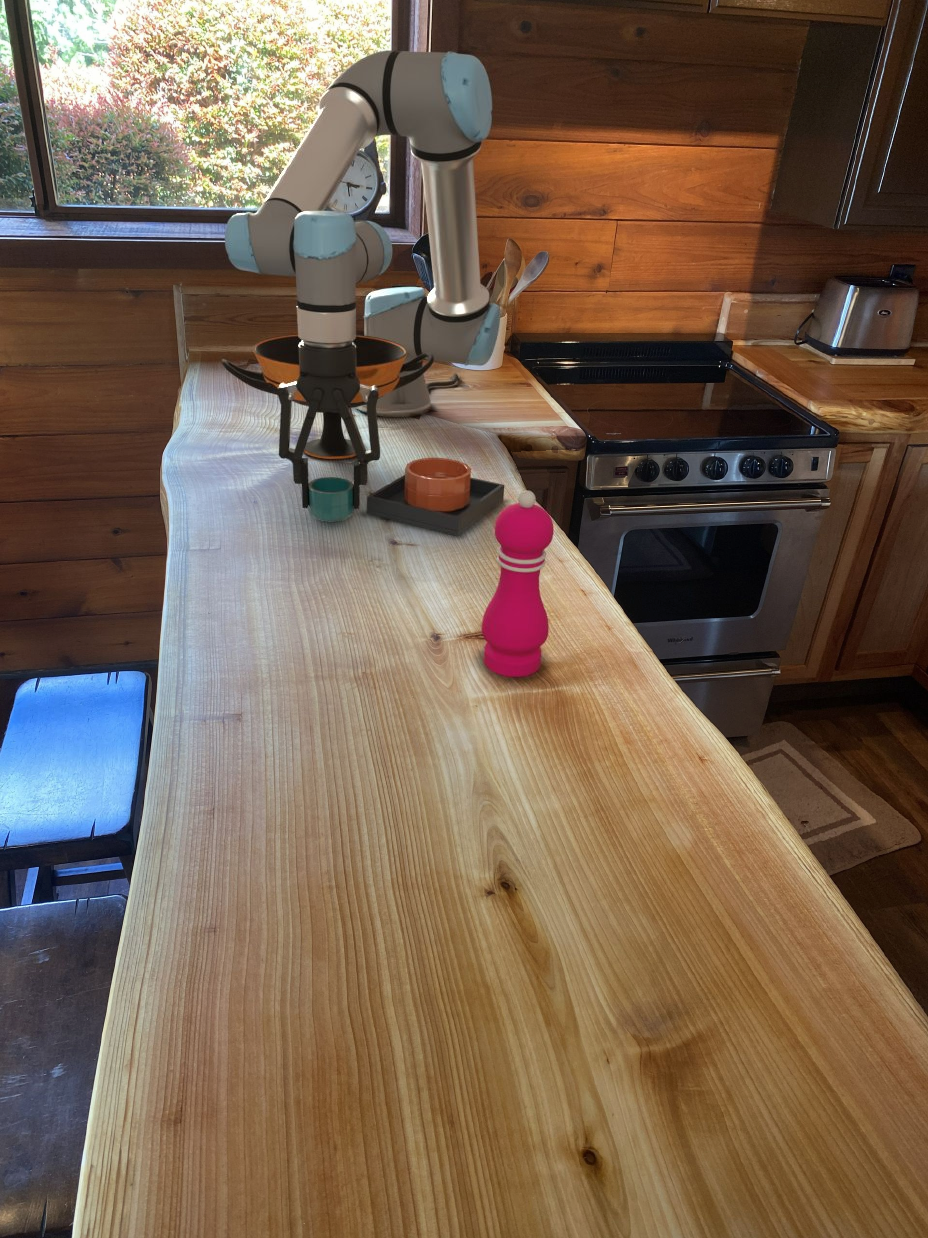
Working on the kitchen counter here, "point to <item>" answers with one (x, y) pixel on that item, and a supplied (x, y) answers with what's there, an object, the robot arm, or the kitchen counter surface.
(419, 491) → the bowl large
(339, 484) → the bowl small
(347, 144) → the robot arm
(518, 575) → the pepper mill
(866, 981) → the kitchen counter surface
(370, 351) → the cup
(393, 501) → the tray
